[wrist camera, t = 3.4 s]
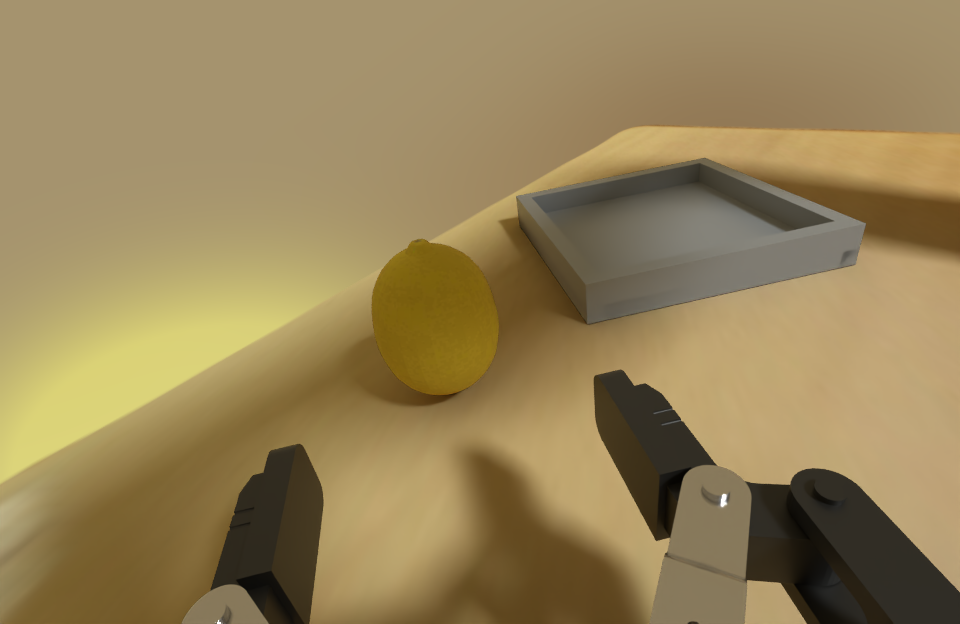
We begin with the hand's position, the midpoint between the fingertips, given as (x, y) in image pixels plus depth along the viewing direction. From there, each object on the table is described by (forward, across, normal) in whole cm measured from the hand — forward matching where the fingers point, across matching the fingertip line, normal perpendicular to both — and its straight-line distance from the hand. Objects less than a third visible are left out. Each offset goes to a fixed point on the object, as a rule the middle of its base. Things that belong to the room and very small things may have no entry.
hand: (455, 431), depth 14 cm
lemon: (+9, 0, +6) cm, 11 cm away
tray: (+20, -16, +6) cm, 26 cm away
